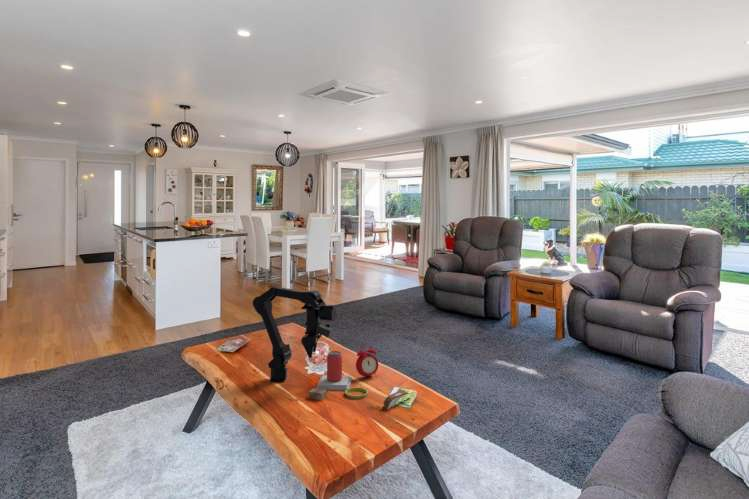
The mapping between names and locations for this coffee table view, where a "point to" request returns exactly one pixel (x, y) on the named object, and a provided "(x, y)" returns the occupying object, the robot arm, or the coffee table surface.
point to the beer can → (334, 366)
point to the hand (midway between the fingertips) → (312, 354)
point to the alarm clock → (366, 362)
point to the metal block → (317, 394)
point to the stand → (334, 383)
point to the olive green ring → (356, 390)
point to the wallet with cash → (393, 399)
